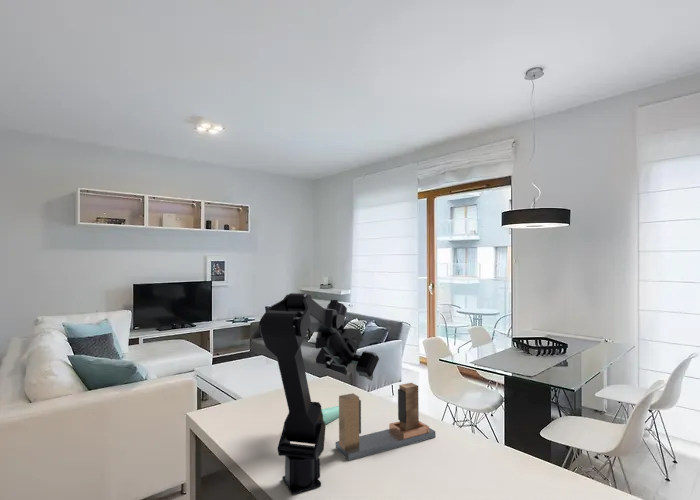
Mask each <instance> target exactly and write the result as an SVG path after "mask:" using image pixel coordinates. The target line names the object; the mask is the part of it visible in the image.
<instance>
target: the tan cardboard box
mask: <svg viewBox="0 0 700 500" xmlns="http://www.w3.org/2000/svg"><path fill="white" fill-rule="evenodd" d="M398 386H399V387H398V389H397V413H398V414H397V419H398V421H400V429H402V430H403V431H408V430H412V429H416V428H419V421H420V420H419V419H420V418H419V416H420V415H419V413H420V412H419V385H417V384H416V383H413V382H407V383H402V384H398Z"/></svg>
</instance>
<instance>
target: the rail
mask: <svg viewBox="0 0 700 500" xmlns="http://www.w3.org/2000/svg"><path fill="white" fill-rule="evenodd" d="M338 406H339V418H338V441H335V449H336V450H337V451H338V452H339V453H340V454H341V455H342V456H343V457H344V458H345V459H346V460H347V461H353V460H356V459H360V458H363V457H364V458H365V457H367V456H371V455H375V454H378V453H382V452H385V451H389V450H393V449H397V448H400V447H404V446H407V445H411V444H415V443H419V442H422V441H423V442H424V441H426V440H431V439H433V438H436V435H437V434H436V431H435V430H434V429H432V428H431V427H430V426H429V425H427V424H426V423H424V422H422V421H420V420H419V428H416V429H412V430H408V431H403V430H402V429H400V420H398V421H395V422H392V423H389V427H388V429H385V430H384V429H383V430H380V431H376V432H371V433H367V434H363V435H360V434H362V400H361V399H360V397H359V396H358V395H356V394H355V393H354V392H353V393H347V394H342V395H338Z"/></svg>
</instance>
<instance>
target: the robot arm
mask: <svg viewBox="0 0 700 500" xmlns="http://www.w3.org/2000/svg"><path fill="white" fill-rule="evenodd" d="M267 308H268V309H267V310H266V311H265V313H264V314H263V315H262V316H261V318H260V320H259V325H258V329H259V333H260V336H261V338H262V341H263V344H264V347H265V348H266V349H267V350H268V351H269V352H271V353H272V354H273V355H274V356H275V358H276V361H277V364H278V369H279V374H280V379H281V381H282V383H281V384H282V386H283V390H284V396H285V399H286V404H287V408H288V409H287V410H288V413H287V415H286V418H285V420H284V423H283V427H282V431H281V434H280V438H279V442H278V445H277V453H278V457H281V456H283V457H284V475H283V476H282V477H281V479H282V481H283V483H284V484H285V486H286V488H287V489H288V490H289V492H290V494H291V495H295V494H298V493H302V492H305V491H309V490H313V489H317V488H318V487H321V486H322V482H321V481H320V480H319V479H321V458H320V456H321V454H322V453H323V451H324V449H325V439H326V425H325V422H324V421H323V414H322V410H321V409H322V404H321V403H320V402H318V401H312V399H311V394H310V393H311V392H310V389H309V384H308V378H307V374H306V368H305V363H304V359H303V354H302V352H303V351H302V345H303V343H304V341H305V338H306V336H307V332H308V331H310V332H311V333H316V338H315V344H314V346H315V349H316V350H319V349H320V350H319V351H318V353H317V355H316V357H315V364H316V365H317V366H318V367H319V368H320V367H321V368H323V369H326V370H329V371H332V372H335V373H338V374H342V375H343V376H347V373H348V370H347V369H346V368H348V366H349V365H350V364H353V365H355V372H356V373H357V374H358V376H360V377H362V378H364V379H366V380H369V381H373V379H374V371H375V369H376V367H377V365H378V363H379V360H380V357H379V355H378V354H377V353H376V352H373V351H372V352H371V351H366V350H365V351H362V353H361V355H360V354H359V355H358V354H355V353H357V352H358V347H357V346H358V345H359V344H360V343H361V342H362V341H363V340H364V339H363V338H364V337H363V335H362V332H361V329H359V328H353V327H349V328H344V324H345V319H346V315H347V311H348V308H347V307H346V305H345V304H343V303H342V302H339V300H338V299H331V300H330V302H328V304H327V305H326V308H324V307H323V306H322V305H321V304H319V303H318V302H316V301H315V300H314V299H313V298H312V295H311V294H309V293H306V292H305V293H300V292H299V293H296V292H295V293H294V292H293V293H289V294H286V295H285V296H284V298H283V299H282V300H280V301H277V302H276V303H275V304H272V305H271V306H269V307H267ZM292 442H293V443H292ZM308 444H309V445H308ZM310 444H311V445H310Z"/></svg>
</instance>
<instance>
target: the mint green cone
mask: <svg viewBox="0 0 700 500" xmlns="http://www.w3.org/2000/svg"><path fill="white" fill-rule="evenodd" d="M321 410H322V414H323V421H324V422H325V426H326V425H327V424H330V423H332V422H333V421H336V419H339V405H335V406H331V407H326V408H321Z"/></svg>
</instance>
